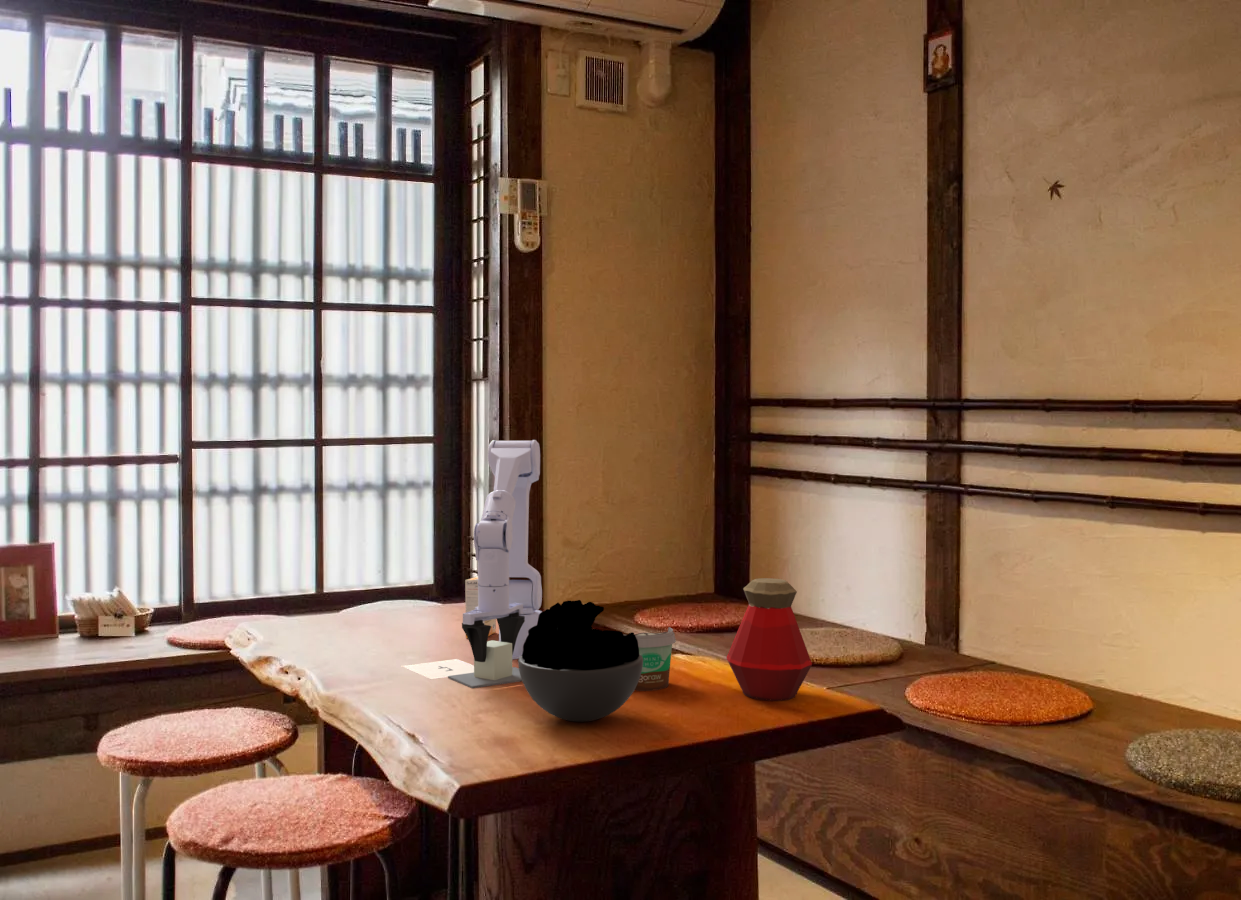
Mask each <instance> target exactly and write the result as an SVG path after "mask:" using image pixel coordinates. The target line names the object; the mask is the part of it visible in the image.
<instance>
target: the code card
mask: <svg viewBox="0 0 1241 900" xmlns="http://www.w3.org/2000/svg"><path fill="white" fill-rule="evenodd" d="M401 667H402V668H404V669H407V670H409V671H411V672H413V673H416V674H418V675H420V676H422V677H425V678H427V679H430V680H435V679H443V678H448V676H452V675H459V674H467V673H474V664H471V663H469V662H466V661H463V660H460V659H459V658H454V659H446V660H438V661H429V662H422V663H416V664H409V665H408V664H407V665H406V664H405V665H401Z"/></svg>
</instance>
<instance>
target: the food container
mask: <svg viewBox="0 0 1241 900" xmlns="http://www.w3.org/2000/svg"><path fill="white" fill-rule="evenodd" d="M623 635H626V634H624V633H623ZM634 635H635V636H636V638H637V640H638V646H639V654H640V655H641V656H642V657H643V667H642V672H641V676H640V679H639V681H638V684H637V686H636V688H635V690H636V691H637V692H639V691H640V692H644V691H645V692H650V691H651V692H652V691H659V690H663V689H666V688H668V687H669V682H670V671H671V670H670V669H671V660H672V647H673V644H675V643H676V641H677V640H676V635H675V632H674V629H673V628H671V627H670V626H669V627H668V629H667V631H663V632H655V633H654V632H638V633H636V634H635V633H634ZM635 690H634V691H635Z"/></svg>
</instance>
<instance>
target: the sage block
mask: <svg viewBox="0 0 1241 900" xmlns="http://www.w3.org/2000/svg"><path fill="white" fill-rule="evenodd" d="M473 665H474V677H479V678H484V679H490V680H497V679H501V678H504V677H508V676H512V667H513V660H512V643H507V642H500V641H499V640H493V639H492V640H487V652H486V660H485V662H477V661H475V660H474V659H473Z"/></svg>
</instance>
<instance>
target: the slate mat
mask: <svg viewBox="0 0 1241 900" xmlns="http://www.w3.org/2000/svg"><path fill="white" fill-rule="evenodd" d="M447 679H449V680H451V681H454V682H457V683H458V684H461V685H462V686H465V687H468V688H470V689H478V688H483V687H491V686H497V685H498V686H499V685H507V684H513V683H519V682H522V679H521V676H520V672H519V667H516V666H512V676H508V677H504V678H501V679H497V680H490V679H484V678H479V677H474V673H467V674H459V675H452V676H448V677H447Z"/></svg>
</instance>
